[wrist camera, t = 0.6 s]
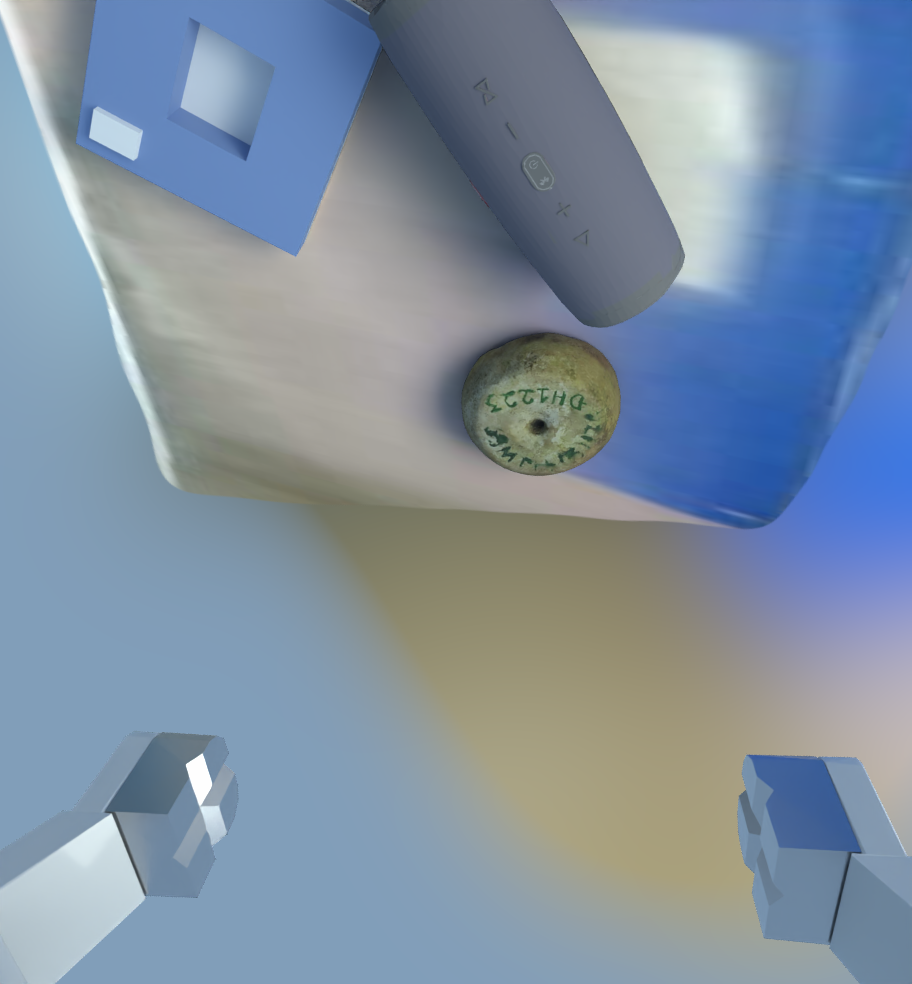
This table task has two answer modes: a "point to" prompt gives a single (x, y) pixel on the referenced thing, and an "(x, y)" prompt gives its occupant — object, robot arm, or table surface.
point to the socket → (229, 101)
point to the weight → (541, 404)
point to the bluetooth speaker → (539, 146)
